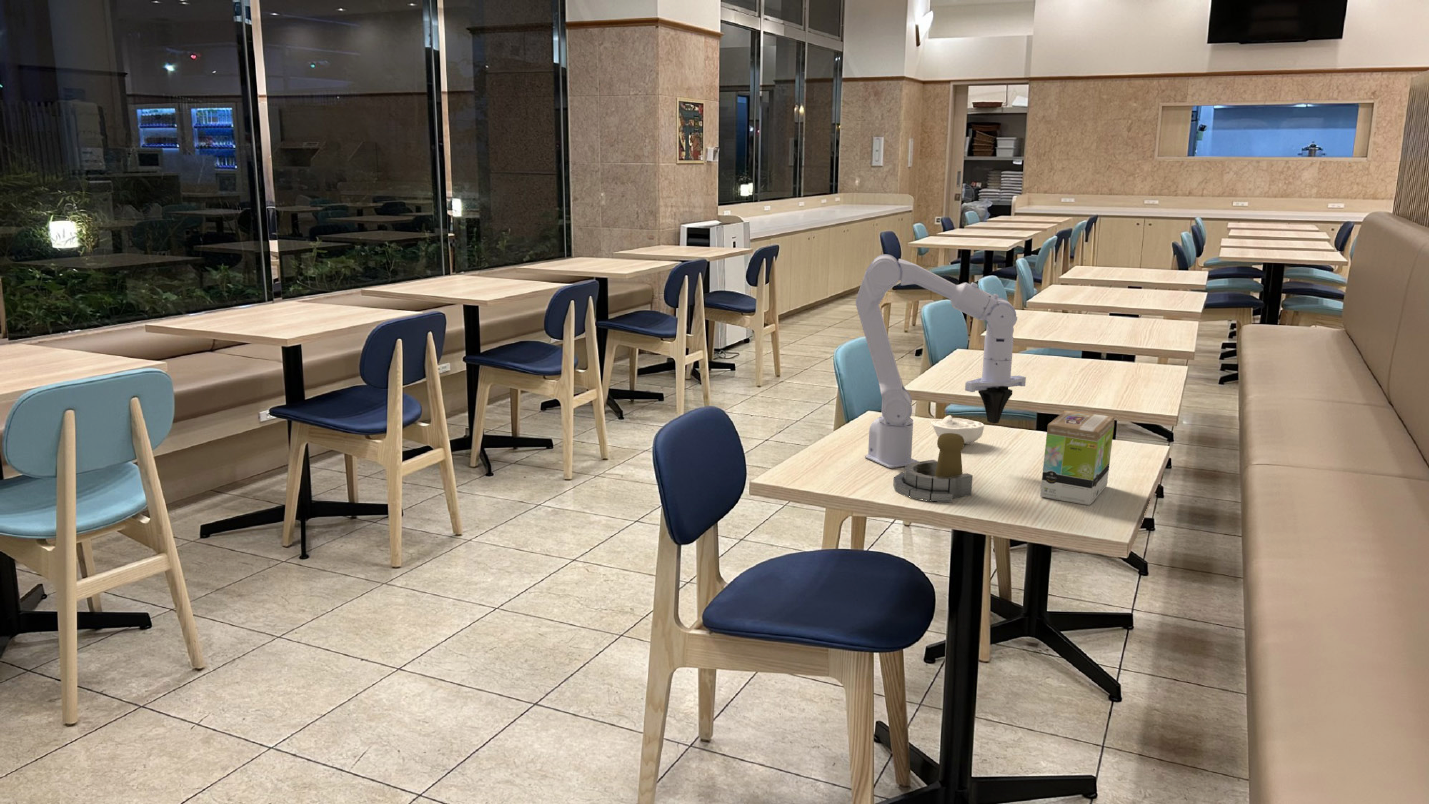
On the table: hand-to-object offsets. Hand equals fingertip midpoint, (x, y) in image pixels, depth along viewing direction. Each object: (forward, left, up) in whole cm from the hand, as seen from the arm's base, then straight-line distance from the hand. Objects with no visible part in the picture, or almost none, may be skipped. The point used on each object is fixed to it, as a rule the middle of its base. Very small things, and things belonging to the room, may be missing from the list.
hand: (993, 422), depth 219 cm
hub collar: (+7, -22, -10) cm, 25 cm away
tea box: (+20, +4, -10) cm, 23 cm away
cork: (+7, -17, -10) cm, 21 cm away
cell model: (-18, +6, -10) cm, 22 cm away
